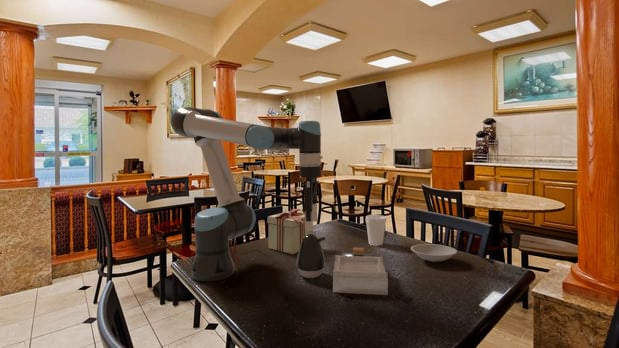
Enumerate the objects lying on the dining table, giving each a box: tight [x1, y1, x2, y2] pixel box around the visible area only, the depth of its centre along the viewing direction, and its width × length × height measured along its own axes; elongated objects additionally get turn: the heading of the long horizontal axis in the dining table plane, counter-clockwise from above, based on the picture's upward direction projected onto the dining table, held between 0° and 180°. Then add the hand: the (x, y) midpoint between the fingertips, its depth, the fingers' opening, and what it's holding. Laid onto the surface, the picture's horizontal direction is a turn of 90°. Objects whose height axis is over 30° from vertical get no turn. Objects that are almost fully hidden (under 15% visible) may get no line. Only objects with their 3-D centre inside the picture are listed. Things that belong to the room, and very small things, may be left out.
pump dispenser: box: [296, 233, 326, 279], centre depth 113 cm, size 10×10×15 cm
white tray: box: [332, 247, 389, 296], centre depth 110 cm, size 17×23×8 cm
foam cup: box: [365, 214, 387, 247], centre depth 150 cm, size 10×9×13 cm
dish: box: [410, 243, 458, 263], centre depth 126 cm, size 18×14×5 cm
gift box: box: [266, 208, 312, 255], centre depth 145 cm, size 17×18×17 cm
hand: (311, 225), depth 112 cm, fingers open, 13 cm apart
